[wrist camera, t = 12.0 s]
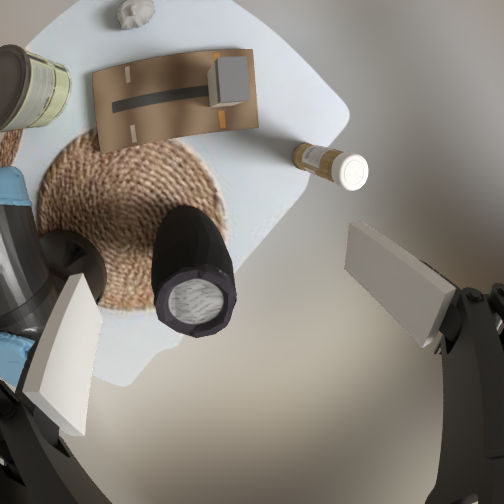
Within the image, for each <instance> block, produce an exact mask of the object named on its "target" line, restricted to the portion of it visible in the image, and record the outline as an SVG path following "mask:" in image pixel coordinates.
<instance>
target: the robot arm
mask: <svg viewBox="0 0 504 504" xmlns="http://www.w3.org/2000/svg"><path fill="white" fill-rule="evenodd" d="M31 206H32V202H31V201H30V200H29V197H28V193H27V189H26V185H25V180H24V176H23V174H22V172H21V171H20V170H19V169H18V168H16V167H13V166H6V167H0V377H1V378H3V379H4V380H5V381H7V382H8V383H9V384H11V385H13V386H15V387H16V391H15V393H14V392H13V391H12V390H11V389H10V388H9V387H8V386H7V385H6V384H5V382H4V381H1V380H0V458H2V459H3V460H4V465H1V464H0V504H112V503H111V502H110V501H109V500H108V498H106V496H105V495H104V494H103V493H102V492H101V490H100V489H99V488H98V487H97V486H96V485H95V483H94V482H93V481H92V480H91V478H90V477H89V476H88V474H87V473H86V472H85V470H84V469H83V468H82V467H81V465H80V464H79V462H78V461H77V459H76V458H75V457H74V455H73V454H72V452H71V451H70V449H69V448H68V446H67V445H66V443H65V442H64V440H63V439H62V438H61V437H60V436H59V428H60V429H62V430H63V431H64V432H65V433H66V434H68V435H72V436H85V427H86V416H87V406H88V398H89V391H90V384H91V377H92V371H93V365H94V360H95V355H96V349H97V344H98V340H99V335H100V331H101V326H102V322H103V317H102V315H101V313H100V311H99V309H98V307H97V304H98V303H99V302H100V300H101V298H102V296H103V293H104V290H105V287H106V282H107V272H106V267H105V264H104V261H103V259H102V257H101V255H100V253H99V252H98V250H97V249H96V248H95V247H94V245H93V244H92V243H91V242H90V241H88V240H87V239H86V238H84V237H83V236H81V235H79V234H77V233H75V232H72V231H69V230H53V231H50V232H48V233H46V234H44V235H43V236H42V237H41V238H40V239H39V236H38V233H37V229H36V225H35V221H34V217H33V213H32V208H31ZM344 269H345V270H346V271H347V272H348V273H349V274H350V275H351V276H352V277H353V278H354V279H355V280H356V281H358V282H359V283H360V284H361V285H362V286H363V287H364V288H365V289H366V290H367V291H368V292H369V293H370V294H371V295H372V296H373V297H374V298H375V299H376V300H377V301H378V302H379V303H380V304H381V305H382V306H383V307H384V308H385V309H386V310H387V311H388V312H389V313H390V314H391V315H392V316H393V317H394V319H395V320H396V321H397V322H398V323H399V324H400V325H401V326H402V327H403V328H404V329H405V330H406V331H407V332H408V333H409V334H410V335H411V336H412V337H413V338H414V339H415V340H416V342H417V343H418V344H419V345H420V346H421V347H425V346H426V345H428V344H430V343H431V342H433V341H434V339H435V337H436V335H437V333H438V331H440V332H441V333H442V334H443V335H442V337H441V339H440V341H439V343H438V345H437V347H436V349H435V351H434V353H435V354H436V353H437V351H438V350H439V348H441V352H440V353H439V354H441V355H442V366H443V394H444V397H443V400H444V401H443V405H444V406H443V431H442V443H441V453H440V462H439V468H438V475H437V480H436V484H435V487H434V489H433V490H432V491H431V493H430V494H429V496H428V497H427V499H426V502H425V504H472V503H474V502H476V501H478V504H504V329H503V330H502V332H501V334H500V335H499V334H498V332H497V330H498V328H499V326H500V324H501V323H502V321H503V323H504V284H500V283H495V284H493V286H492V288H491V291H490V293H489V294H484V295H483V294H482V293H481V292H480V291H478V290H477V289H474V288H468V287H467V288H464V289H463V290H461V289H460V288H458V287H457V286H456V285H455V284H453V283H452V282H451V281H449V280H448V279H447V278H446V277H444V276H443V275H442V274H439V272H437V271H436V270H435V269H434V270H433V268H432V267H431V266H429V265H428V264H427V263H425V262H423V261H421V260H418V259H416V258H415V257H414V256H412V255H411V254H410V253H408V252H407V251H405V250H404V249H402V248H401V247H400V246H398V245H397V244H395V243H394V242H392V241H391V240H389V239H388V238H386V237H385V236H383V235H382V234H380V233H378V232H377V231H376V230H374V229H372V228H371V227H369V226H368V225H366V224H365V223H363V222H361V221H358V222H353V223H349V230H348V241H347V251H346V260H345V268H344Z"/></svg>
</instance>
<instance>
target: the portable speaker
mask: <svg viewBox="0 0 504 504" xmlns="http://www.w3.org/2000/svg"><path fill="white" fill-rule="evenodd" d="M151 285H152V289H153V293H154V305H155V307H156V313H157V316H158V320H160V321H161V322H162V323H164V324H165V325H167V326H168V327H170V328H172V329H173V330H175V331H176V332H179V333H182V334H185V335H189V336H192V337H195V338H199V337H204V336H209V335H213V334H216V333H217V332H219V331H220V330H222V329H223V328H225V327H226V326H227V325H228V323H229V321H230V319H231V315H232V311H233V308H234V306H235V303H236V301H237V300H236V296H237V293H236V288H235V281H234V273H233V265H232V260H231V258H230V255H229V253H228V250H227V248H226V246H225V243H224V241H223V238H222V236H221V233H220V232H219V230H218V229H217V227H216V226H215V224H214V223H213V221H212V220H211V219H210V218H209V217H208V216H207V215H206V214H205V213H203V212H202V211H201V210H200V209H197V208H195V207H192V206H178V207H176V208H174V209H173V210H171V211H169V213H168V214H167V215H166V216H165V218H164V219H163V221H162V223H161V225H160V228H159V231H158V233H157V236H156V240H155V244H154V248H153V258H152V269H151Z"/></svg>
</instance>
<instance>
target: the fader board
mask: <svg viewBox="0 0 504 504" xmlns="http://www.w3.org/2000/svg"><path fill="white" fill-rule="evenodd" d="M240 56H247V67H248V80H249V93H250V100H249V101H245V102H242V103H239V104H236V105H233V106H222V107H212V108H210V101H209V89H208V77H207V73H208V71H209V70H210V68H211V66H212V65H213V63H214V62H215V60H216V59H217V57H240ZM92 75H93V92H94V104H95V114H96V123H97V131H98V138H99V145H100V151H101V154H104V153H108V152H112V151H116V150H120V149H124V148H128V147H132V146H137V145H141V144H146V143H151V142H156V141H161V140H167V139H172V138H178V137H184V136H191V135H197V134H205V133H212V132H221V131H230V130H240V129H252V128H259V125H258V111H257V97H256V84H255V71H254V59H253V49H234V50H213V51H201V52H191V53H182V54H175V55H168V56H162V57H156V58H150V59H145V60H140V61H136V62H131V63H127V64H123V65H119V66H115V67H111V68H108V69H104V70H101V71H97V72H94V73H92Z"/></svg>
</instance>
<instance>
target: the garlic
mask: <svg viewBox="0 0 504 504" xmlns="http://www.w3.org/2000/svg"><path fill="white" fill-rule="evenodd" d="M154 12H155V8H154V5H153V0H125V1H124V2H123V3H122V4H121V5H120V6H119V7H118V10H117V20H118V21H119V22H120V24H121V28H122V29H124V30H129V29H131V28H133V27H141V26H142V25H144V24H146V23H148V22H149V20H150V19H151V17H152V15H153V14H154Z"/></svg>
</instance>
